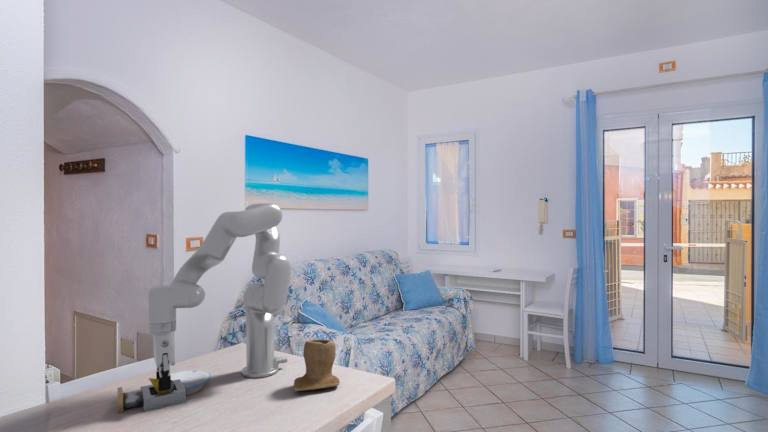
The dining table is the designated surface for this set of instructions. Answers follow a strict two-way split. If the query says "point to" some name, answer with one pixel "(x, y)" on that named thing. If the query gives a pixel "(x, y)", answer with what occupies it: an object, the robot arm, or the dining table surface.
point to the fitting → (151, 397)
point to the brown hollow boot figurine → (317, 366)
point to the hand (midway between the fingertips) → (163, 386)
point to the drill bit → (156, 385)
